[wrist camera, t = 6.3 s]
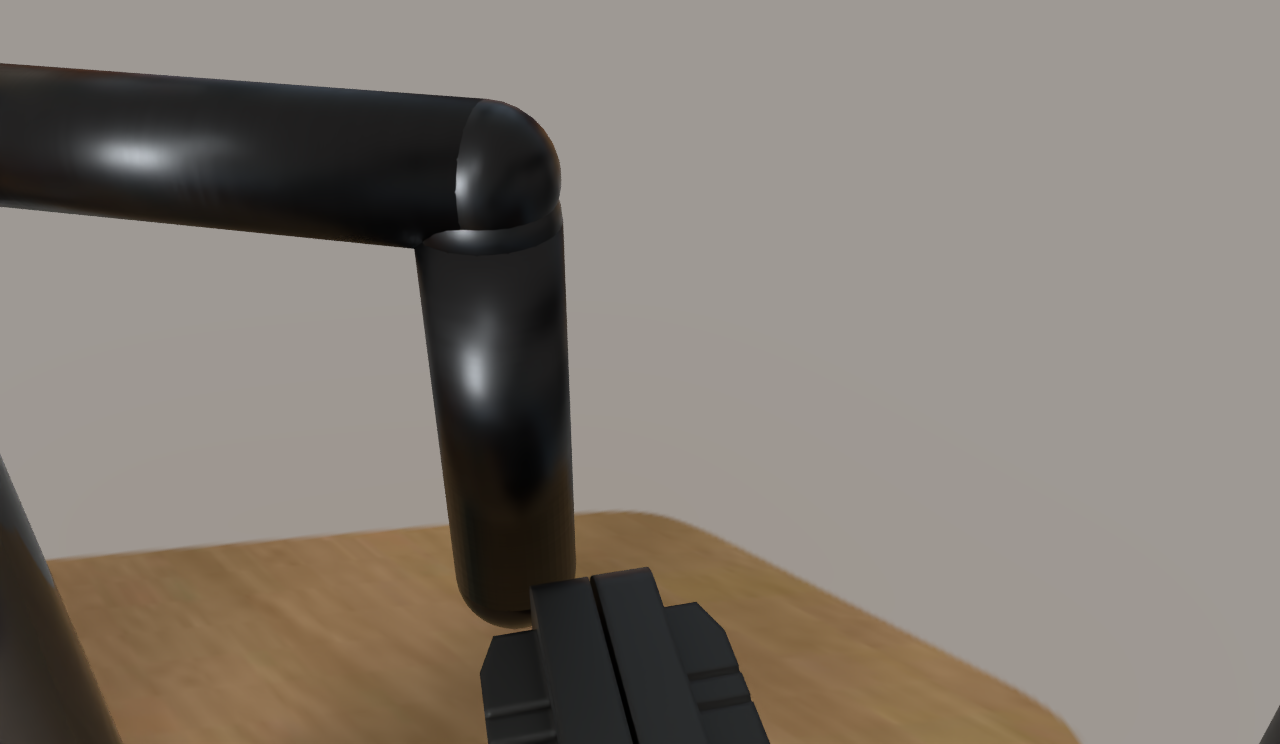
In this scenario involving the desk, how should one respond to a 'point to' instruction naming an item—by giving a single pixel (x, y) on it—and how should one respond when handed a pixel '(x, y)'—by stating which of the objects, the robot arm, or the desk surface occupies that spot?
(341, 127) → the spout
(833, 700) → the desk surface
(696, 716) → the robot arm
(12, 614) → the faucet base
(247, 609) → the desk surface
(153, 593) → the desk surface
